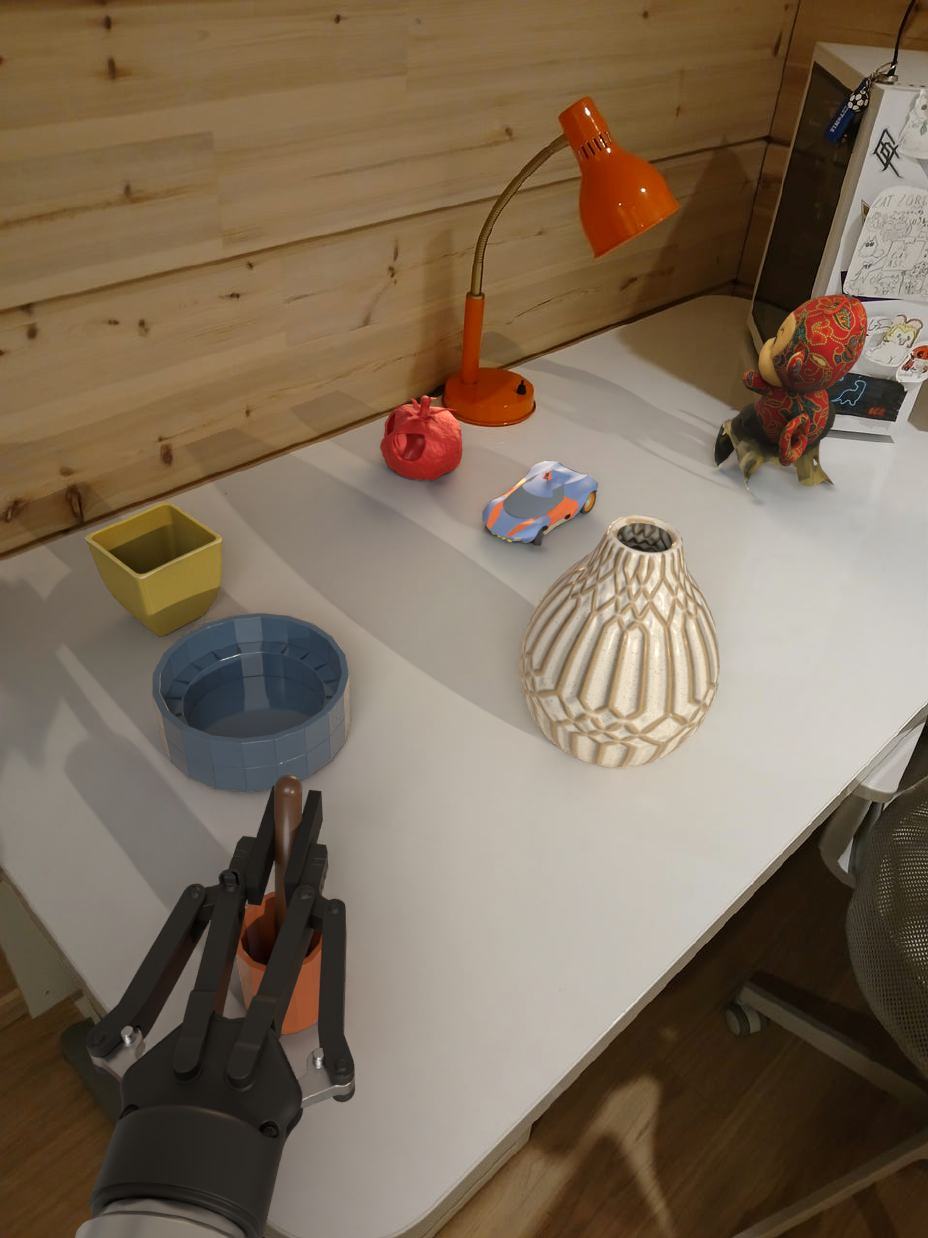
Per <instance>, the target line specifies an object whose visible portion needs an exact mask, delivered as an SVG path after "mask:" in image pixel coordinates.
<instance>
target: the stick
mask: <svg viewBox="0 0 928 1238" xmlns="http://www.w3.org/2000/svg"><path fill="white" fill-rule="evenodd" d="M302 813H303V785H302V782H301V780H299V779H298V778H297V777H295V776H293V775H285V776H282V777H281V778H279V779H278V780H277V782H276V784H275V787H274V831H275V860H274V864H273V867H274V868H273V869H274V872H273V873H274V877H273V878H274V890H273V891H274V896H275V942H276V939H277V936H278V934H279V931H280V928H281V926H282V923H283V920H284V917H285V915H286V912H287V909H286V899H285V889H284V876H285V873H286V869H287V866H288V862H289V859H290V855H291V852H292V848H293V845H294V841H295V838H296V834H297V831H298V827H299V824H300V823H301V821H302Z"/></svg>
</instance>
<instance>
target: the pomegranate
mask: <svg viewBox="0 0 928 1238" xmlns="http://www.w3.org/2000/svg"><path fill="white" fill-rule="evenodd" d="M436 399H437V397H431V396H430V397H429V396H427V395H425V394H424V395H422V396H421V397H420V399H419V401H420V402H419V403H420V404H419V403H418V402H417V400H416V399H415V398H406V400H407V401H411V403H412V404H403V405H400V406H394V407H393V411H391V413H390V414H389V415H388V417H387V419H386V420H385V422H384V433H383V439H382V440H381V441H380V445H379V448H380V451H381V455H382V457H383V459H384V462H385V463H386V465H387V466H388V467H389V468H390V469H391V470H392V471H394V472H395V473H397V474H398V475H400V476H401V477H404V478H406V479H409V480H418V481H435V480H437V479H438V478H440V477H441V476H442V475H446V474H449V473H451V472H453V471H454V470H456V468H458V466H459V465H460V464H461V460H462V457H463V436H462V429H461V426H460V425H461V424H460V423H459V422H458V420H457V419H456V418H455V417H454V416H453V413H451V412H456V411H459V408H457V409H453V408H449V407H448V408H444V407H441V406H440V407H439V406H431V405H432V403H433V400H436Z"/></svg>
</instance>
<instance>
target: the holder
mask: <svg viewBox="0 0 928 1238" xmlns="http://www.w3.org/2000/svg"><path fill="white" fill-rule="evenodd" d="M274 945H275V896H274V890H273V891H270V892H268V893H266V894H264V897H263V901H262V904H261V906H259V905H251V904H247V905H246V906H245V917H244V921H243V926H242V930H241V935H240V939H239V944H238V948H237V953H236V957H235V959H236V964H237V969H238V970H237V971H238V975H239V982H240V988H241V994H242V998H243V1003H244V1007H245V1010H246V1012H247V1011H248V1008H249V1006H250V1003H251V1000H252V998H253V996H255V995H256V994H257V991H258V989H259V986H260V983H261V980H262V978H263V975H264V972H265V969H266V967H267V964H268V961H269V958H270V956H271V953H272V950H273V947H274ZM321 947H322V933H321V932H319V931H317V930H314V932H313V935H312V938H311V941H310V944H309V947H308V950H307V953H306V956H305V959H304V962H303V965H302V968H301V971H300V974H299V977H298V980H297V983H296V986H295V989H294V992H293V995H292V998H291V1001H290V1004H289V1007H288V1010H287V1013H286V1016H285V1019H284V1022H283V1025H282V1032H281V1035H286V1034H287V1035H288V1034H294V1033H298V1032H301V1031H304V1030H306V1029H308V1028H309V1027H311V1026H312V1025H314V1024H315V1023H316V1022H318V1009H319V988H320V967H321Z"/></svg>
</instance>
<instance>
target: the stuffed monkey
mask: <svg viewBox="0 0 928 1238" xmlns="http://www.w3.org/2000/svg"><path fill="white" fill-rule="evenodd" d="M867 334H868V314H867V310H866V309H865V307H864V305H863V303H862V302H861V300H860V299H859V298H856V297H854V296H852V295H850V294H846V293H845V294H844V293H838V294H828V295H827V294H826V295H821V296H817V297H814V298H811V299H808V300H807V301H805V302H804V303H802V304H801V305H800V306H798V307H796V308H795V310H793V311H792V312H790V313H789V315H788V316H787V317H786V319H784V321H783V322H782V324H781V325H780V327H779V329H778V330H777V333H776V336H775V337H772V338H770V339H769V338H768V339H767V341H766V342H765V343H764V344H763V346H762V348H761V350H760V353H759V357H758V370H759V371H757V370H754V369H748V370H747V371H745V372H744V373H743V374H742V377H741V381H742V384H743V385H744V387H745V388H746V389H747V390H748V391H751V392H753V393H755V394H757V395H761V397H760V398H759V399H758V400H757V401H756V402H752V403H748V404H746V405H745V406H744V407H743V408H742V409H741V410H740V411H739V413H738V414H737V415H736V416H734V417H732V418H729V419H727V420H725V421H723V422H722V423H721V426H720V428H719V431H718V433H717V436H716V438H715V441H714V443H713V449H712V451H713V453H712V455H713V463H714V466H715V467H716V468H717V469H720V468H721V467H722V466H723V465H724V464H725V463H726V462H727V460H728V459H729V458H730V456H731V455H732V454H733V453H734V452H735V455H736V458H737V462H738V464H739V468H740V472H741V475H742V479H743V482H744V485H745V487H746V489H747V491H748V492H749V493H750V494H751V495H753V496H754V497H755V498H757V497H756V496H755V494H754V493H753V492H752V491H751V490H750V489H749V487H748V485H747V484H748V482H749V480H750V478H751V477H752V476H753V475H754V474H755V472H756V471H757V470H758V469H759V468H760V467H761V466H762V465H763V464H767V463H770V464H772V465H774V466H776V467H791V465H793V467H794V468H795V470H796V473H797V480H798V482H799V483H800V484H801V485H802V486H804V487H813V486H815V485H818V484H820V483H822V482H823V481H825V482H827V483H829V484H830V485H832V486H835V484H834V483H833V481H832V480H831V478H830V477H829V476H828V475H827V473H826V472H825V471H824V469H823V468H822V465H821V462H820V445H821V441H822V440H823V439H825V438H826V437H827V436H828V434H829V432H830V431H831V429H833V427H834V424H835V421H836V414H837V411H836V408H835V405H834V404H833V402H832V401H831V400H829V395H828V389H830V388H831V387H833V386H834V385H835V384H836V383H838V382H839V381H841V380H842V379H843V378H844V377H845V376H846V375H847V374H848V373H849V372H850V371H851V370H852V369H853V367H854V366H855V364H857V362H858V360H859V359H860V357H861V355H862V352H863V350H864V347H865V343H866V341H867V340H866V339H867ZM814 461H815V462H816V464H815V462H814Z"/></svg>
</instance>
